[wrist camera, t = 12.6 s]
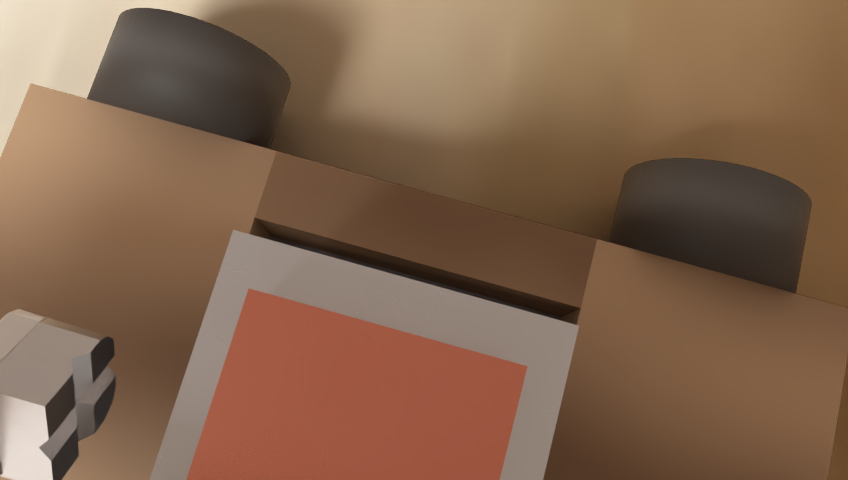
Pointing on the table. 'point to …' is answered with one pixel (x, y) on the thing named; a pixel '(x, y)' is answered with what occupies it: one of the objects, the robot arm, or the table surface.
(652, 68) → the table surface
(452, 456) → the engine block
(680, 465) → the chassis
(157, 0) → the table surface
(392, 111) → the table surface
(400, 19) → the table surface
